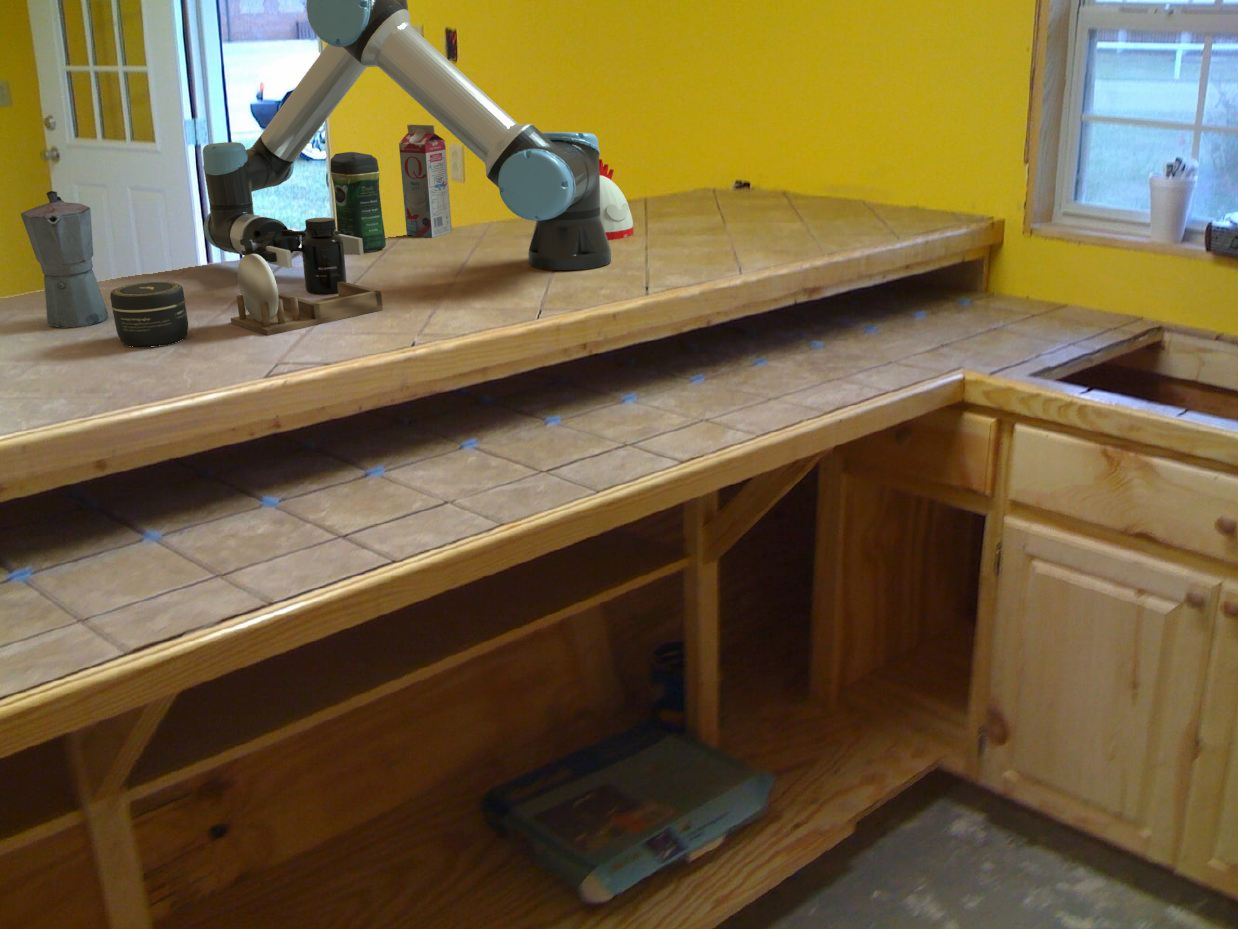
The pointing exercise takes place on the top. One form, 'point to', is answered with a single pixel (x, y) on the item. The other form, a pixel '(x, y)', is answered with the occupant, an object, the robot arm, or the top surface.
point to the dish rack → (293, 301)
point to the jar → (150, 313)
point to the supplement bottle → (322, 257)
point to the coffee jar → (358, 198)
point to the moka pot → (66, 261)
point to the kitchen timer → (613, 207)
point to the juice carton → (425, 182)
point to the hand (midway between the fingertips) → (326, 252)
